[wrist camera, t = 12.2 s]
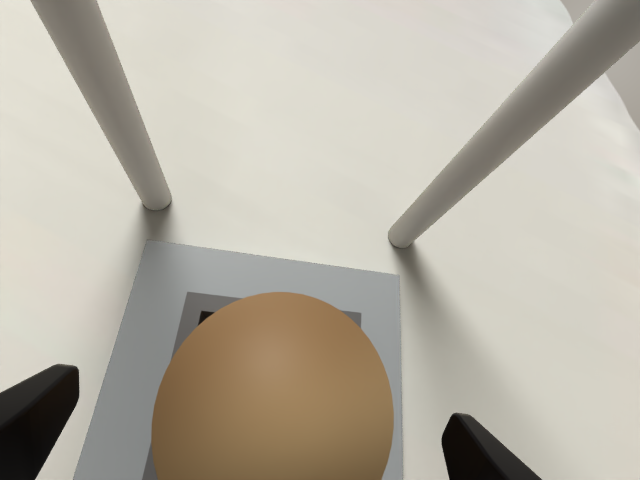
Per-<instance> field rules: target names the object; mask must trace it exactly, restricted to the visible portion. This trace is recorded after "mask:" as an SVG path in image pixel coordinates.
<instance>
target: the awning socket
mask: <svg viewBox="0 0 640 480" xmlns="http://www.w3.org/2000/svg"><path fill="white" fill-rule="evenodd" d="M31 2H32V4H33V6H34V8H35V9H36V11H37V13H38V15H39V17H40V18H41V20H42V22H43V24H44V26H45V27H46V29H47V31H48V33H49V35H50V36H51V38H52V40H53V42H54V44H55V46H56V47H57V49H58V51H59V53H60V55H61V56H62V58H63V60H64V62H65V64H66V65H67V67H68V69H69V71H70V73H71V74H72V76H73V78H74V80H75V82H76V83H77V85H78V87H79V89H80V91H81V92H82V94H83V96H84V98H85V100H86V101H87V103H88V105H89V107H90V109H91V111H92V112H93V114H94V116H95V118H96V120H97V121H98V123H99V125H100V127H101V129H102V130H103V132H104V134H105V136H106V138H107V139H108V141H109V143H110V145H111V147H112V148H113V150H114V152H115V154H116V156H117V157H118V159H119V161H120V163H121V165H122V166H123V168H124V170H125V172H126V174H127V175H128V177H129V179H130V181H131V183H132V185H133V186H134V188H135V190H136V192H137V194H138V195H139V197H140V199H141V201H142V203H143V204H144V206H145V207H146V208H148V209H150V210H162V209H164V208H166V207H167V206H168V205H169V204H170V202H171V199H172V196H171V193H170V190H169V188H168V185H167V183H166V180H165V177H164V175H163V172H162V170H161V167H160V164H159V162H158V159H157V157H156V154H155V151H154V149H153V146H152V144H151V141H150V138H149V136H148V133H147V131H146V128H145V125H144V123H143V120H142V118H141V115H140V112H139V110H138V107H137V105H136V102H135V99H134V97H133V94H132V91H131V89H130V86H129V84H128V81H127V78H126V76H125V73H124V71H123V68H122V65H121V63H120V60H119V58H118V55H117V52H116V50H115V47H114V45H113V42H112V39H111V37H110V34H109V32H108V29H107V26H106V24H105V21H104V19H103V16H102V13H101V11H100V8H99V6H98V3H97V0H31ZM639 41H640V0H595V1H594V2H593V3H592V4H591V5H590V6H589V7H588V9H587V10H586V11H585V12H584V13H583V14H582V15H581V16H580V17H579V19H578V20H577V21H576V22H575V23H574V24H573V25H572V26H571V28H570V29H569V30H568V31H567V32H566V33H565V34H564V35H563V36H562V38H561V39H560V40H559V41H558V42H557V43H556V44H555V45H554V46H553V48H552V49H551V50H550V51H549V52H548V53H547V54H546V55H545V57H544V58H543V59H542V60H541V61H540V62H539V63H538V64H537V65H536V67H535V68H534V69H533V70H532V71H531V72H530V73H529V74H528V75H527V77H526V78H525V79H524V80H523V81H522V82H521V83H520V84H519V86H518V87H517V88H516V89H515V90H514V91H513V92H512V93H511V94H510V96H509V97H508V98H507V99H506V100H505V101H504V102H503V103H502V105H501V106H500V107H499V108H498V109H497V110H496V111H495V112H494V113H493V115H492V116H491V117H490V118H489V119H488V120H487V121H486V122H485V123H484V125H483V126H482V127H481V128H480V129H479V130H478V131H477V132H476V134H475V135H474V136H473V137H472V138H471V139H470V140H469V141H468V142H467V144H466V145H465V146H464V147H463V148H462V149H461V150H460V151H459V152H458V154H457V155H456V156H455V157H454V158H453V159H452V160H451V161H450V163H449V164H448V165H447V166H446V167H445V168H444V169H443V170H442V171H441V173H440V174H439V175H438V176H437V177H436V178H435V179H434V180H433V181H432V183H431V184H430V185H429V186H428V187H427V188H426V189H425V190H424V192H423V193H422V194H421V195H420V196H419V197H418V198H417V199H416V200H415V202H414V203H413V204H412V205H411V206H410V207H409V208H408V209H407V210H406V212H405V213H404V214H403V215H402V216H401V217H400V218H399V219H398V221H397V222H396V223H395V224H394V225H393V226H392V227H391V228H390V230H389V232H388V238H389V240H390V242H391V243H392V244H393V245H394V246H396V247H398V248H406V247H407V246H409V245H410V244H411V243H412V242H413V241H414V240H416V239H417V238H418V237H419V236H420V235H421V234H422V233H423V232H425V231H426V230H427V229H428V228H429V227H430V226H431V225H433V224H434V223H435V222H436V221H437V220H438V219H439V218H440V217H442V216H443V215H444V214H445V213H446V212H447V211H448V210H449V209H451V208H452V207H453V206H454V205H455V204H456V203H457V202H459V201H460V200H461V199H462V198H463V197H464V196H465V195H466V194H468V193H469V192H470V191H471V190H472V189H473V188H474V187H475V186H477V185H478V184H479V183H480V182H481V181H482V180H483V179H485V178H486V177H487V176H488V175H489V174H490V173H491V172H492V171H494V170H495V169H496V168H497V167H498V166H499V165H500V164H501V163H503V162H504V161H505V160H506V159H507V158H508V157H509V156H510V155H512V154H513V153H514V152H515V151H516V150H517V149H518V148H520V147H521V146H522V145H523V144H524V143H525V142H526V141H527V140H529V139H530V138H531V137H532V136H533V135H534V134H535V133H536V132H538V131H539V130H540V129H541V128H542V127H543V126H544V125H546V124H547V123H548V122H549V121H550V120H551V119H552V118H553V117H555V116H556V115H557V114H558V113H559V112H560V111H561V110H562V109H564V108H565V107H566V106H567V105H568V104H569V103H570V102H572V101H573V100H574V99H575V98H576V97H577V96H578V95H579V94H581V93H582V92H583V91H584V90H585V89H586V88H587V87H588V86H590V85H591V84H592V83H593V82H594V81H595V80H596V79H598V78H599V77H600V76H601V75H602V74H603V73H604V72H605V71H606V70H608V69H609V68H610V67H611V66H612V65H613V64H614V63H616V62H617V61H618V60H619V59H620V58H621V57H622V56H624V55H625V54H626V53H627V52H628V51H629V50H630V49H631V48H632V47H634V46H635V45H636V44H637V43H638V42H639ZM270 292H291V293H298V294H304V295H307V296H311V297H314V298H317V299H319V300H322V301H324V302H326V303H329V304H330V305H332V306H334V307H335V308H337V309H339V310H340V311H342V312H343V313H344V314H346V315H347V316H348V317H349V318H351V319H352V320H353V321H354V322H355V323H356V324H357V325H358V326H359V327H360V328H361V329H362V331H363V332H364V333H365V334H366V336H367V337H368V338H369V339H370V341H371V342H372V344H373V346H374V347H375V349H376V351H377V352H378V354H379V356H380V359H381V361H382V363H383V365H384V368H385V371H386V374H387V377H388V379H389V384H390V388H391V393H392V400H393V409H394V430H393V438H392V446H391V450H390V454H389V459H388V463H387V466H386V468H385V471H384V474H383V477H382V479H381V480H403V447H402V391H401V334H400V277H399V275H395V274H388V273H381V272H374V271H367V270H360V269H352V268H345V267H338V266H331V265H324V264H317V263H310V262H303V261H296V260H289V259H282V258H275V257H267V256H260V255H253V254H246V253H239V252H232V251H225V250H218V249H211V248H204V247H197V246H189V245H182V244H175V243H168V242H161V241H154V240H147V241H146V245H145V248H144V251H143V254H142V258H141V261H140V264H139V267H138V270H137V274H136V277H135V280H134V283H133V287H132V290H131V293H130V296H129V300H128V303H127V306H126V309H125V313H124V316H123V319H122V322H121V325H120V329H119V332H118V335H117V338H116V342H115V345H114V348H113V351H112V355H111V358H110V361H109V364H108V367H107V371H106V374H105V377H104V380H103V384H102V387H101V390H100V393H99V397H98V400H97V403H96V406H95V410H94V413H93V416H92V419H91V422H90V426H89V429H88V432H87V435H86V439H85V442H84V445H83V448H82V452H81V455H80V458H79V461H78V464H77V468H76V471H75V474H74V477H73V480H158V478H157V474H156V470H155V466H154V462H153V454H152V445H151V430H152V417H153V410H154V404H155V400H156V397H157V393H158V389H159V386H160V384H161V381H162V379H163V376H164V374H165V371H166V369H167V367H168V365H169V364H170V362H171V360H172V358H173V356H174V354H175V353H176V352H177V350H178V349H179V347H180V346H181V345H182V343H183V342H184V340H185V339H186V338H187V337H188V336H189V335H190V334H191V333H192V331H193V330H194V329H195V328H196V327H197V326H199V325H200V324H201V323H202V322H203V321H204V320H205V319H207V318H208V317H209V316H211V315H212V314H214V313H215V312H216V311H218V310H219V309H221V308H223V307H225V306H227V305H229V304H231V303H233V302H235V301H237V300H240V299H243V298H245V297H249V296H253V295H257V294H261V293H270Z"/></svg>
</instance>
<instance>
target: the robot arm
mask: <svg viewBox="0 0 640 480" xmlns="http://www.w3.org/2000/svg"><path fill="white" fill-rule="evenodd" d="M78 399H79V370H78V368H77V367H76V366H73V365H65V364H56V365H53V366H51V367H49V368H47V369H45V370H43V371H42V372H40V373H38V374H36V375H34V376H32V377H30V378H28V379H26V380H24V381H22V382H20V383H18V384H16V385H14V386H12V387H11V388H9V389H7V390H5V391H3V392H1V393H0V480H35V479H36V477H37V475H38V474H39V472H40V470H41V468H42V467H43V465H44V463H45V461H46V459H47V458H48V456H49V454H50V452H51V450H52V448H53V447H54V445H55V443H56V441H57V439H58V437H59V436H60V434H61V432H62V430H63V428H64V427H65V425H66V423H67V421H68V419H69V417H70V416H71V414H72V412H73V410H74V408H75V406H76V404H77V402H78ZM442 448H443V453H444V457H445V462H446V466H447V470H448V475H449V479H450V480H542V479H541V478H540V477H539V476H537V475H536V474H535V473H534V472H533V471H532V470H531V469H530V468H529V467H527V466H526V465H525V464H524V463H523V462H522V461H521V460H520V459H519V458H517V457H516V456H515V455H514V454H513V453H512V452H511V451H510V450H509V449H507V448H506V447H505V446H504V445H503V444H502V443H501V442H500V441H499V440H498V439H496V438H495V437H494V436H493V435H492V434H491V433H490V432H489V431H488V430H486V429H485V428H484V427H483V426H482V425H481V424H480V423H479V422H478V421H476V420H475V419H474V418H473V417H472V416H471V415H468V414H462V413H454V414H452V415H451V417H450V419H449V422H448V424H447V426H446V428H445V430H444V432H443V435H442Z"/></svg>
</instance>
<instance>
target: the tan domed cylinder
mask: <svg viewBox="0 0 640 480" xmlns="http://www.w3.org/2000/svg"><path fill="white" fill-rule="evenodd" d="M393 430H394V409H393V400H392V393H391V388H390V384H389V379H388V377H387V374H386V371H385V368H384V365H383V363H382V361H381V359H380V356H379V354H378V352H377V351H376V349H375V347H374V346H373V344H372V342H371V341H370V339H369V338H368V337H367V336H366V334H365V333H364V332H363V331H362V329H361V328H360V327H359V326H358V325H357V324H356V323H355V322H354V321H353V320H352V319H351V318H349V317H348V316H347V315H346V314H344V313H343V312H342V311H340V310H339V309H337V308H335V307H334V306H332V305H330V304H329V303H326V302H324V301H322V300H319V299H317V298H314V297H311V296H307V295H304V294H298V293H291V292H270V293H261V294H257V295H253V296H249V297H245V298H243V299H240V300H237V301H235V302H233V303H231V304H229V305H227V306H225V307H223V308H221V309H219V310H218V311H216V312H215V313H214V314H212V315H211V316H209V317H208V318H207V319H205V320H204V321H203V322H202V323H201V324H200V325H199V326H197V327H196V328H195V329H194V330H193V331H192V333H191V334H190V335H189V336H188V337H187V338H186V339H185V340H184V342H183V343H182V345H181V346H180V347H179V349H178V350H177V352H176V353H175V354H174V356H173V358H172V360H171V362H170V364H169V365H168V367H167V369H166V371H165V374H164V376H163V379H162V381H161V384H160V386H159V389H158V393H157V397H156V400H155V404H154V410H153V417H152V430H151V445H152V454H153V462H154V466H155V470H156V474H157V478H158V480H381V479H382V477H383V474H384V471H385V468H386V466H387V463H388V459H389V454H390V450H391V446H392V438H393Z"/></svg>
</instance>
